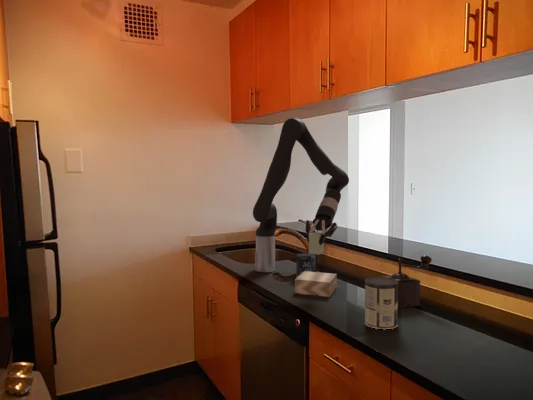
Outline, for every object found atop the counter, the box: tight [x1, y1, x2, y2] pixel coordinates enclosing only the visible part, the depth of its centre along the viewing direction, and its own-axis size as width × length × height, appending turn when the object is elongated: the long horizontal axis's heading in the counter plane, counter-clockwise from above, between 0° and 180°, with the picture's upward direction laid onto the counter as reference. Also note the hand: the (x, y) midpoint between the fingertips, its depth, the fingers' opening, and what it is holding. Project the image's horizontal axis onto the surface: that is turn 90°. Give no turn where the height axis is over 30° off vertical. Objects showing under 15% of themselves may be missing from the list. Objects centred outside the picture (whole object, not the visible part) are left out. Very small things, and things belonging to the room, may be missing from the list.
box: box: [295, 253, 317, 278], centre depth 189 cm, size 8×6×11 cm
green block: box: [308, 232, 325, 255], centre depth 169 cm, size 4×4×8 cm
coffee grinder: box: [381, 254, 433, 310], centre depth 153 cm, size 16×11×18 cm
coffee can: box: [364, 276, 399, 331], centre depth 132 cm, size 10×10×14 cm
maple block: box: [294, 271, 338, 298], centre depth 170 cm, size 14×14×6 cm
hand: (314, 242), depth 167 cm, fingers closed on green block, 4 cm apart
